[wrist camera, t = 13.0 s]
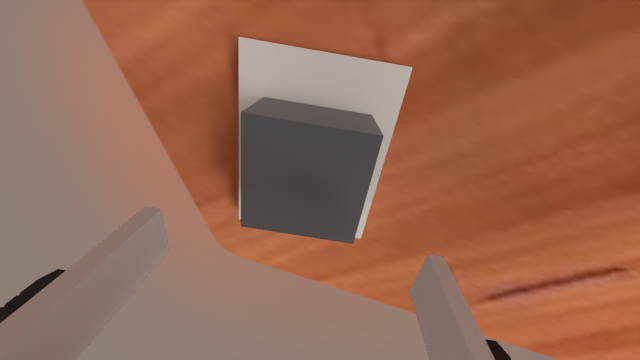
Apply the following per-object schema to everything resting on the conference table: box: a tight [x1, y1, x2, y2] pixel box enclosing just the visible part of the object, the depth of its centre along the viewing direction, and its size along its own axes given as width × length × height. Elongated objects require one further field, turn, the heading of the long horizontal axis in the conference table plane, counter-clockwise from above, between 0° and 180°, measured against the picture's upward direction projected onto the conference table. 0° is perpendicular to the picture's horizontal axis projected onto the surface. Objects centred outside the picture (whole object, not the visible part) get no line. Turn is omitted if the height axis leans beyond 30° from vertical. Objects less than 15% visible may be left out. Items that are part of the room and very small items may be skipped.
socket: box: [239, 37, 413, 239], centre depth 24 cm, size 18×14×3 cm
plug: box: [241, 97, 384, 244], centre depth 22 cm, size 10×10×8 cm
